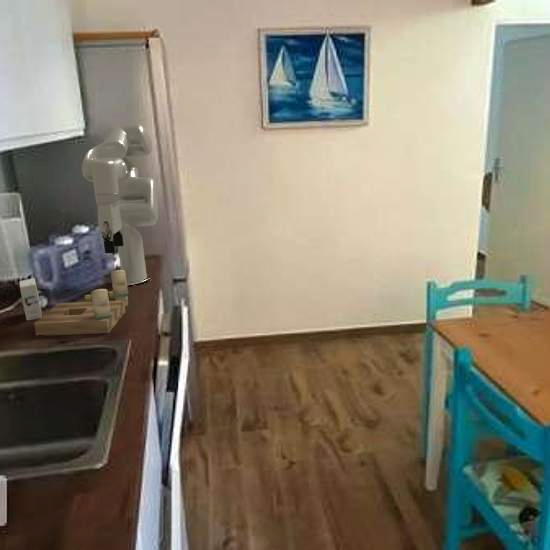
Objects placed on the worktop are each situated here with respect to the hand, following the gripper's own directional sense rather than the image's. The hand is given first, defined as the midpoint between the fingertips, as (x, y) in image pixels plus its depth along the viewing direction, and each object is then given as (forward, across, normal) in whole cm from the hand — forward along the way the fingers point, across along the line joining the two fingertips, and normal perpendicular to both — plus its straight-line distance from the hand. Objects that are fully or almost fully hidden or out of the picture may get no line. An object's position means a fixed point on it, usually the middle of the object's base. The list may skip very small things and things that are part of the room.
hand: (114, 249), depth 174 cm
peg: (+20, 0, 0) cm, 20 cm away
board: (+20, +16, -8) cm, 27 cm away
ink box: (+20, +7, -28) cm, 35 cm away
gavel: (+21, -9, -11) cm, 25 cm away
